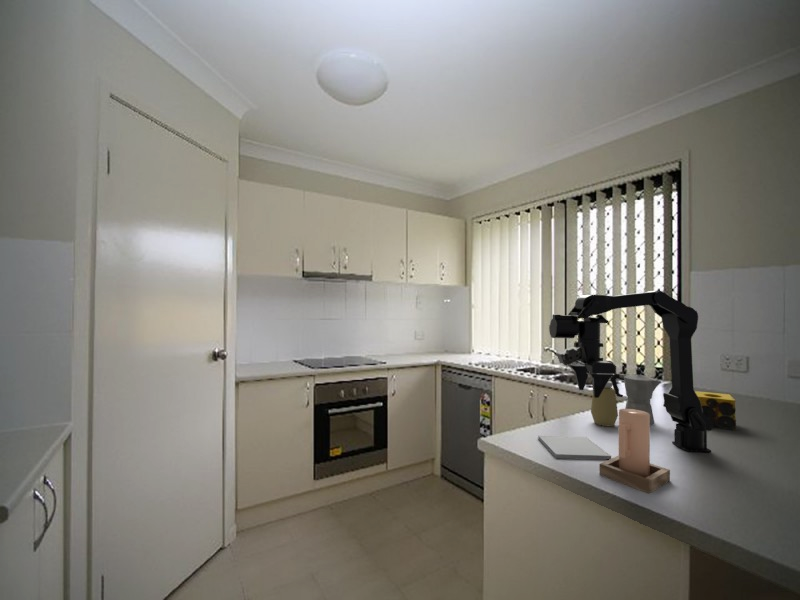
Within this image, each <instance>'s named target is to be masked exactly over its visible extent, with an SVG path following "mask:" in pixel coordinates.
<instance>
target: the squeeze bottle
mask: <svg viewBox="0 0 800 600" xmlns="http://www.w3.org/2000/svg"><path fill="white" fill-rule="evenodd" d="M590 413H591V416H592V420H593V422H594V424H596V425H599V426H601V425H602V426H603V427H614V426H615V424H616V422H617V419H618V418H619V410H618V404H617V396H616V393H615V390H614V388H613V385H612V382H611V380H609V381H608V382H607V384H606V386H605V387H604V389H603V391H602V393H601V394H600V396H599V398H595V397H594V394H593V393H592V397H591V407H590Z"/></svg>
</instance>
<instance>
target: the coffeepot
mask: <svg viewBox="0 0 800 600" xmlns="http://www.w3.org/2000/svg"><path fill="white" fill-rule="evenodd" d="M635 371H636V372H635V373H636V374H628V375H627V374H623V373H622V374H621V373H617V372H616V374H613V376H611V378H610V379H609V381H610V382H612V388H613V389H614V390H615V393H616V397H618V398H623V397H624V394H621V393H620V389H619V386H618V382H617V380H621V381H624V388H625V395H626V396H627V400H626V403H625V407H624V409H635V410H640V411H644V412H647V413H649V414H650V426H652V425H655V424H656V423H655V418H654V413H653V407H652V404H651V399H653V393H654V391H655V390H656V388H658V386H659V385H660V384H662V383H663V382H662V381H661V380H659V379H655V378H652V377H650V376H646V375H643V374H641V373H642V370H641V369H639V368H637V369H635Z"/></svg>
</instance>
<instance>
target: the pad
mask: <svg viewBox="0 0 800 600" xmlns="http://www.w3.org/2000/svg"><path fill="white" fill-rule="evenodd" d="M537 438H538V441H539V442H540V443H541V444H543V446H544V447H545V448H546V449H547V450H548V451H549V452H550V453H551V455H552V456H553V457H554V458H555V459H571V460H572V459H575V458H578V459H577V460H603V459H612V455H610V453H608V452H607V451H605V450H604V449H603V448H601V446H599V445H598V444H597V443H595V442H594V441H592V440H591V439H590V438H589V437H587V436H575V435H573V436H572V435H570V436H569V435H568V436H566V435H538V437H537ZM575 460H576V459H575Z"/></svg>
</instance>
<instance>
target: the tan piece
mask: <svg viewBox="0 0 800 600" xmlns="http://www.w3.org/2000/svg"><path fill="white" fill-rule="evenodd" d="M650 426H651V425H650V414H649V413H647V412H644V411H640V410H635V409H625V408H621V409H619V410H618V456H619V469H622V470H625V471H627V472H630V473H633V474H636V475H639V476H642V477H644V478H646V477H648V476H650V464H651V453H650V450H651V448H650V447H651V445H650V444H651V441H650V440H651V438H650V437H651V435H650V434H651V429H650V428H651V427H650Z"/></svg>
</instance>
